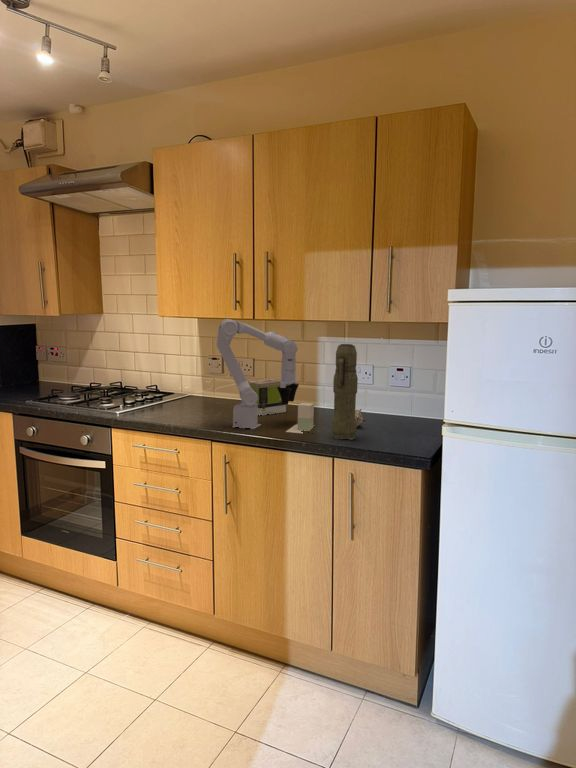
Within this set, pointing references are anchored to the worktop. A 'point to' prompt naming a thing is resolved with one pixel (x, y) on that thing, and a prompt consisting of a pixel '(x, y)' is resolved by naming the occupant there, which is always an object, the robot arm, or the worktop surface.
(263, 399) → the tea box
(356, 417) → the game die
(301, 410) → the cream brick
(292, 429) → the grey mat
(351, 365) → the stone moai statue
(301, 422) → the pale green cube
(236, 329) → the robot arm
